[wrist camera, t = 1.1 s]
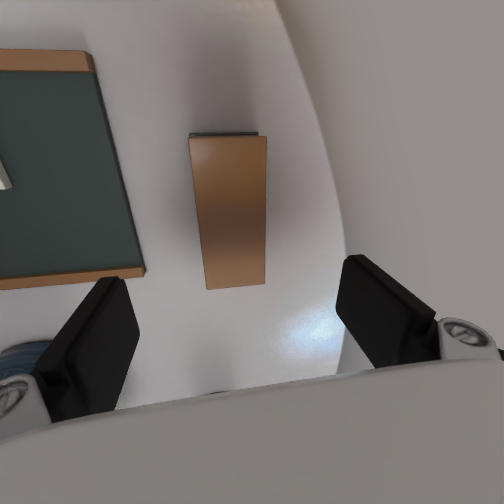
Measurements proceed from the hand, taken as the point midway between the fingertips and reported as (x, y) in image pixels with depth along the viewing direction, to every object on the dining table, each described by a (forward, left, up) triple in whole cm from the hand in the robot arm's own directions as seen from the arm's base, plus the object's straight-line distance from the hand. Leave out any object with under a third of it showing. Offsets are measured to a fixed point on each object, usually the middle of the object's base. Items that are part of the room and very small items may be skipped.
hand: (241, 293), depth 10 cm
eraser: (-1, 0, -12) cm, 12 cm away
